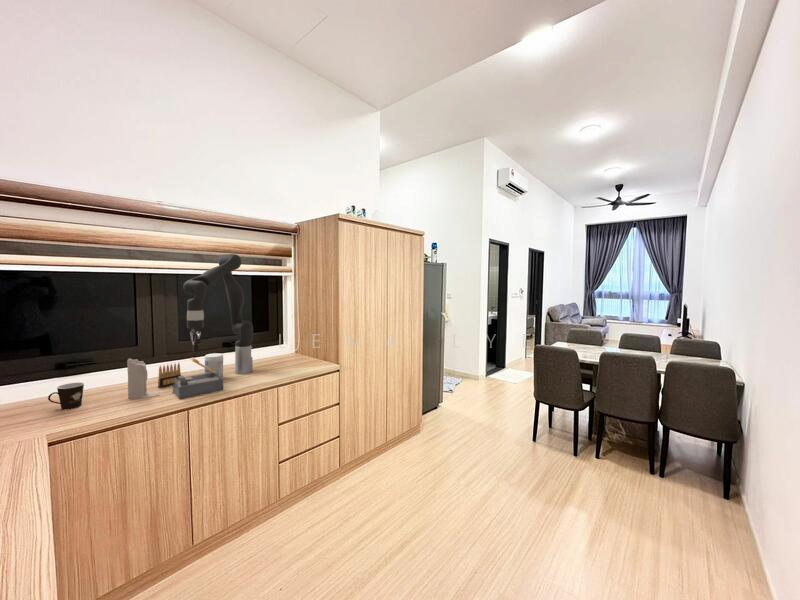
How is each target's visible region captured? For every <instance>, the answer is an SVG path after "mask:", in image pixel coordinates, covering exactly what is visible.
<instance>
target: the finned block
mask: <svg viewBox="0 0 800 600" xmlns="http://www.w3.org/2000/svg"><path fill="white" fill-rule="evenodd" d="M213 371H215V370H213ZM221 391H224V378H221V377H219V373H218V372H217V373H215V374H214V373H212V372H209V373H205V372H204V373H197V374H192V375H187V376H185V375H181V376H178V380H174V381H173V385H172V392H173V394H174V395H175V396H176V397H177V399H178V400H183V399H189V398H192V397H197V396H202V395H207V394H212V393H218V392H221Z"/></svg>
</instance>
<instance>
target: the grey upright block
mask: <svg viewBox="0 0 800 600" xmlns="http://www.w3.org/2000/svg"><path fill="white" fill-rule="evenodd" d="M126 364H127V394H128V395H127V397H128V400H138V399H145V398H146V399H148V398H153V397H157V396H162V395H163V392H147V386H148V385H147V380H148V369H147V364H146V363H145V361H143V360H141V361H140V360H138V359H137V358H136V359H133V358H128V359H127V362H126Z"/></svg>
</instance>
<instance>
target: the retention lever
mask: <svg viewBox="0 0 800 600" xmlns="http://www.w3.org/2000/svg"><path fill="white" fill-rule="evenodd" d="M190 361H191V362H193V363H195V364H197V365H199V366H201V367H202V368H204V370H205V369H207V370H209V371H211V372H212V373H214V374H215V373H216V372H215V371H213V370H211V369H209V368H208V367H206V366H205V364H203V363H200V361H199V360H198V359H196V358H195V357H191V359H190Z"/></svg>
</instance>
